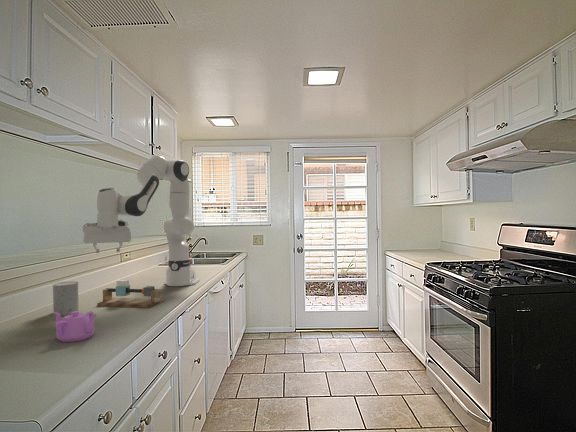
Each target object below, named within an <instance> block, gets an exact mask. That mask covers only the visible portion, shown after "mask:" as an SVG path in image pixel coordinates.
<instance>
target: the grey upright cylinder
mask: <svg viewBox="0 0 576 432" xmlns="http://www.w3.org/2000/svg"><path fill="white" fill-rule="evenodd" d="M52 295H53V296H52V297H53V298H52V299H53V300H52V302H53V304H52V307H53V312H58V313H59V314H60V316H67V315H71V314H72V313H71V312H74V311H79V312H80V310H79V309H80V306H79V305H80V304H79V281H62V282H56V283H53V284H52ZM53 316H56V315H55V314H54V313H53Z"/></svg>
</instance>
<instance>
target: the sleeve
mask: <svg viewBox="0 0 576 432" xmlns="http://www.w3.org/2000/svg"><path fill="white" fill-rule="evenodd" d="M115 289H116V292H115V297H127V296H130V295H131V292H126V289H131V285H130V280H129V279H119V280H116V286H115Z"/></svg>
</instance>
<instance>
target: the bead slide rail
mask: <svg viewBox="0 0 576 432" xmlns="http://www.w3.org/2000/svg"><path fill="white" fill-rule="evenodd" d="M105 289H108V291H109V292H112V293H116V287H115V288H113V287H112V288H111V287H107V288H105ZM152 290H156V288H155V285H153V286H152V285H147V286H145V287H142V288H130V289H126V292H130V293H135V294H136V293H138V294H139V293H141V294H142V295H143V296H144V297H151V291H152Z"/></svg>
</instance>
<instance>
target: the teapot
mask: <svg viewBox="0 0 576 432" xmlns="http://www.w3.org/2000/svg"><path fill="white" fill-rule="evenodd" d="M53 313H54V314H55V315H54V314H53V315H54V316H55V319H56V320H55V321H56V322H55V325H54V326H55V330H56V332H55V338H57V340H58V341H59V342H63V343H75V342H80V341H85V340H87V339H89V338H91V337H92V335H93V334H94V333H95V331H96V330H95V325H96V324H95V316H96V315H97V313H95V314H94V312H93V311H89V312H88V311H87V312H86V313H80V310H79V311H74V312H71V313H72V314H68V315H64V316H63V318H62V315H60V314H59V313H58V312H54V311H53Z"/></svg>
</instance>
